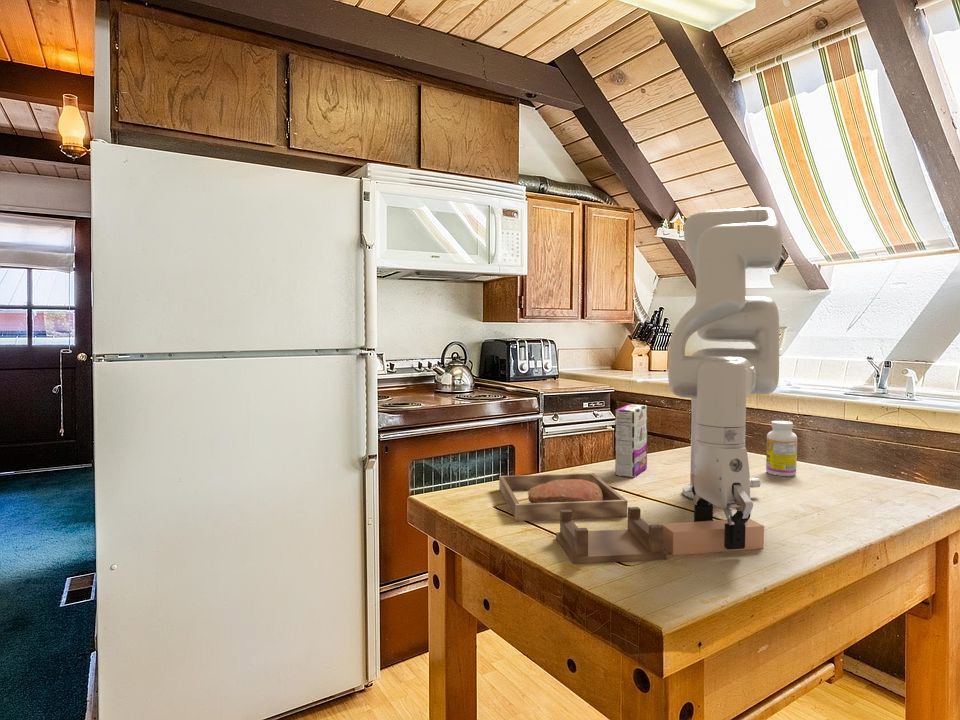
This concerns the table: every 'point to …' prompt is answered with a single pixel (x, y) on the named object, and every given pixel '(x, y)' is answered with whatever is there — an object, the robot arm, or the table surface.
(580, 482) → the ceramic shard
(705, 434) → the robot arm
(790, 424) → the supplement bottle
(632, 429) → the candy bar box
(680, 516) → the table surface
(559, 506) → the low wooden frame
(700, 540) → the tan pink long block
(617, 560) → the rack
